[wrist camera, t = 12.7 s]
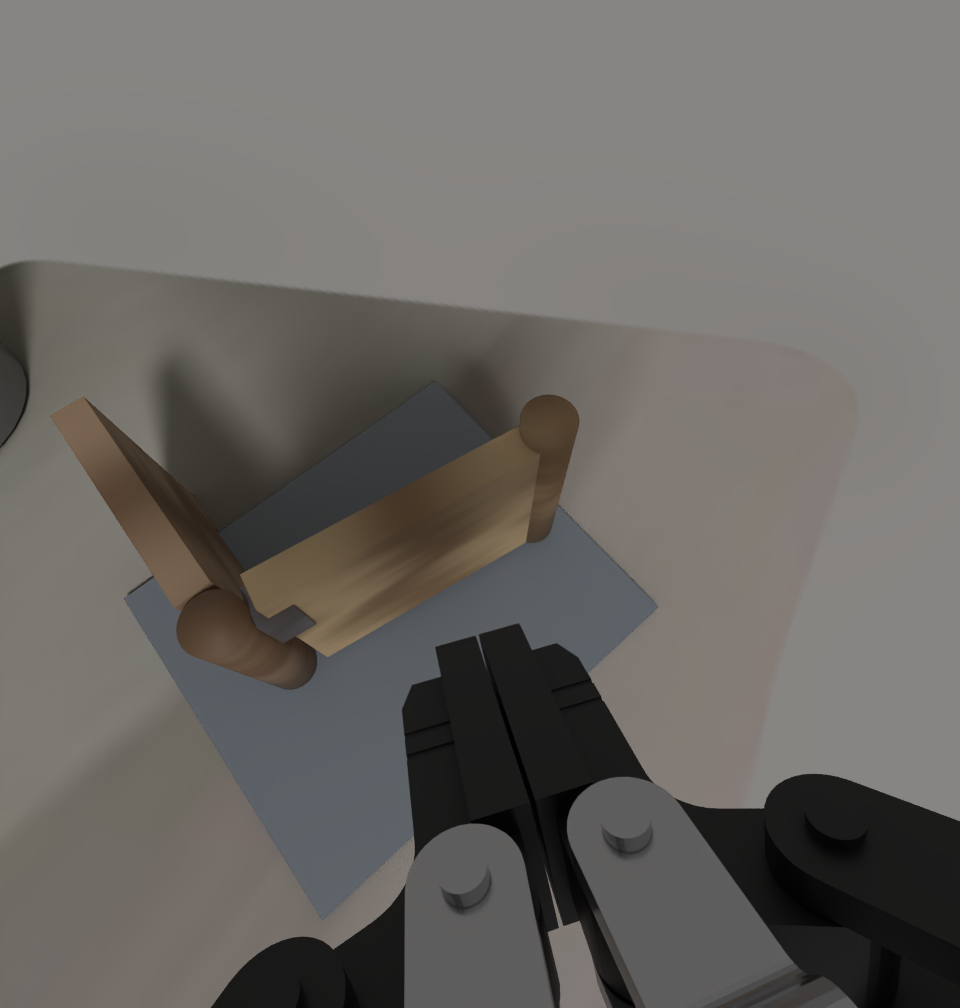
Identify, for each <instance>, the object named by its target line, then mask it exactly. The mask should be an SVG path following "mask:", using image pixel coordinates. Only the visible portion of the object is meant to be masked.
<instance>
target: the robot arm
mask: <svg viewBox="0 0 960 1008" xmlns="http://www.w3.org/2000/svg"><path fill="white" fill-rule="evenodd" d="M25 398H26V378H25V375H24V372H23V368H22V366H21V365H20V363H19V362H18V360H17V359H16V357H15V356H14V355H13V354H12V353H11V352H10V351H9V350H7V349H6V348H5V347H4V346H3V345H2V344H1V343H0V446H1V445H2V443H3V442H4V441H5V440H6V438H7V437H8V436H9V434H10V433H11V432H12V430H13V429H14V427H15V425H16V423H17V421H18V419H19V417H20V415H21V413H22V410H23V406H24V402H25ZM479 639H480V643H481V648H482V652H483V656H484V660H485V663H484V660H483V656H482V653H481V650H480V647H479V644H478V641H477V638H476V636H471V637H468V638H464V639H461V640H457V641H454V642H450V643H447V644H443V645H440V646H436V647H435V649H436V654H437V659H438V664H439V669H440V674H441V677H438V678H434V679H431V680H427V681H424V682H420V683H417V684H413V685H412V686H411V689H410V691H409V693H408V696H407V698H406V700H405V703H404V705H403V708H402V717H403V727H404V735H405V748H406V756H407V768H408V779H409V789H410V799H411V810H412V820H413V830H414V841H415V856H414V862H413V863H412V866H411V868H410V870H409V873H408V877H407V880H406V884H405V886H404V888H403V889H402V891H401V893H400V894H399V896H398V897H397V898H396V900H395V901H394V902H393V903H392V905H391V906H390V907H389V908H388V909H387V910H386V911H385V912H384V913H383V914H382V915H381V916H380V917H378V918H377V919H376V920H375V921H373V922H372V923H371V924H369V925H368V926H366V927H365V928H364V929H362V930H361V931H359V932H358V933H356V934H355V935H354V936H352V937H351V938H349V939H348V940H346V941H345V942H344V943H342V944H341V945H339V946H338V947H336V948H335V949H334V950H333V949H332V948H331V947H330V946H329V945H327V944H326V943H325V942H323V941H321V940H318V939H315V938H311V937H295V938H290V939H286V940H283V941H280V942H278V943H276V944H273V945H271V946H269V947H268V948H266V949H265V950H263V951H261V952H260V953H258V954H257V955H256V956H255V957H253V958H252V959H251V960H250V961H249V962H248V963H246V964H245V965H244V966H243V967H242V968H241V969H240V970H239V971H238V973H237V974H236V975H235V976H234V978H233V979H232V980H231V981H230V982H229V984H228V985H227V987H226V988H225V989H224V991H223V992H222V993H221V995H220V996H219V997H218V999H217V1000H216V1001H215V1003H214V1004H213V1006H212V1007H211V1008H560V1004H559V1003H560V983H559V978H558V973H557V969H556V965H555V961H554V957H553V953H552V949H551V945H550V940H549V936H548V932H549V931H552V930H555V929H557V928H559V927H558V922H557V918H556V913H555V909H554V905H553V900H552V896H551V892H550V887H549V883H548V879H547V875H548V878H549V881H550V885H551V888H552V891H553V894H554V897H555V900H556V904H557V907H558V910H559V913H560V916H561V919H562V923H563V926H565V925H568V924H571V923H574V922H577V921H580V923H581V926H582V929H583V932H584V935H585V938H586V940H587V943H588V946H589V949H590V952H591V955H592V959H593V963H594V968H595V973H596V978H597V983H598V986H599V989H600V992H601V994H602V997H603V999H604V1002H605V1004H606V1006H607V1008H960V821H957V820H955V819H952V818H949V817H947V816H944V815H941V814H939V813H936V812H933V811H930V810H928V809H925V808H922V807H920V806H917V805H914V804H912V803H909V802H906V801H904V800H901V799H898V798H895V797H893V796H890V795H887V794H885V793H882V792H879V791H877V790H874V789H871V788H868V787H866V786H863V785H860V784H857V783H855V782H852V781H850V780H846V779H843V778H839V777H835V776H830V775H823V774H804V775H799V776H794V777H791V778H789V779H787V780H784V781H783V782H781V783H779V784H778V785H777V786H776V787H775V788H774V789H773V790H772V791H771V792H770V794H769V796H768V797H767V799H766V803H765V806H764V807H765V808H764V809H716V808H705V807H699V806H694V805H691V804H688V803H685V802H682V801H680V800H678V799H676V798H674V797H673V796H672V795H670V794H669V793H668V792H667V791H666V790H664V789H663V788H661V787H660V786H658V785H656V784H654V783H653V782H652V781H651V780H650V778H649V777H648V776H647V774H646V773H645V771H644V770H643V768H642V766H641V765H640V763H639V761H638V759H637V758H636V756H635V754H634V752H633V751H632V749H631V747H630V746H629V744H628V742H627V740H626V739H625V737H624V735H623V733H622V732H621V730H620V728H619V727H618V725H617V723H616V721H615V720H614V718H613V716H612V714H611V713H610V711H609V709H608V708H607V706H606V704H605V702H604V701H602V698H601V695H600V694H599V692H598V690H597V689H596V687H595V685H594V683H592V681H591V678H590V676H589V675H588V673H587V671H586V669H585V668H584V666H583V664H582V663H581V661H580V659H579V657H577V656H576V655H574V654H573V653H571V652H570V651H568V650H566V649H565V648H563V647H562V646H560V645H559V644H557V643H555V644H551V645H548V646H544V647H541V648H537V649H534V650H532V649H531V647H530V645H529V643H528V640H527V638H526V636H525V634H524V632H523V630H522V628H521V626H520V624H519V623H517V624H513V625H510V626H506V627H503V628H499V629H496V630H492V631H489V632H485V633H481V634H479ZM485 664H486V666H485ZM486 668H487V669H486ZM544 865H545V866H544ZM545 869H546V870H545ZM546 872H547V874H546Z"/></svg>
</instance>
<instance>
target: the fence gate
mask: <svg viewBox="0 0 960 1008" xmlns="http://www.w3.org/2000/svg"><path fill="white" fill-rule="evenodd" d="M578 427H579V415H578V412H577V410H576V409H575V407H574V406H573V405H572V404H571V403H570V402H569V401H567V400H566V399H564V398H562V397H559V396H556V395H542V396H538V397H536V398H533V399H532V400H530V401H529V402H528V403H527V404H526V405H525V406H524V408H523V409H522V412H521V416H520V425H519V426H517V427H516V428H514V429H512V430H510V431H508V432H506V433H504V434H502V435H501V436H499V437H497V438H495V439H493V440H491V441H489V442H487V443H486V444H484V445H482V446H480V447H478V448H476V449H474V450H472V451H471V452H469V453H467V454H465V455H463V456H461V457H459V458H457V459H456V460H454V461H452V462H450V463H448V464H446V465H444V466H442V467H441V468H439V469H437V470H435V471H433V472H431V473H429V474H427V475H426V476H424V477H422V478H420V479H418V480H416V481H414V482H412V483H411V484H409V485H407V486H405V487H403V488H401V489H399V490H398V491H396V492H394V493H392V494H390V495H388V496H386V497H384V498H383V499H381V500H379V501H377V502H375V503H373V504H371V505H369V506H368V507H366V508H364V509H362V510H360V511H358V512H356V513H354V514H353V515H351V516H349V517H347V518H345V519H343V520H341V521H339V522H338V523H336V524H334V525H332V526H330V527H328V528H326V529H324V530H323V531H321V532H319V533H317V534H315V535H313V536H311V537H309V538H308V539H306V540H304V541H302V542H300V543H298V544H296V545H294V546H293V547H291V548H289V549H287V550H285V551H283V552H281V553H279V554H278V555H276V556H274V557H272V558H270V559H268V560H266V561H264V562H263V563H261V564H259V565H257V566H255V567H253V568H251V569H249V570H248V571H246V572H244V573H242V574H240V576H241V578H242V580H243V582H244V586H242V587H240V588H239V589H240V592H241V594H242V596H243V598H244V600H245V603H246V605H247V607H248V609H249V612H250V614H251V616H252V618H253V621H254V623H255V625H256V627H257V629H259V630H261V631H263V632H264V633H266V634H268V635H269V636H271V637H273V638H275V639H276V640H278V641H280V642H281V643H285V642H287V641H288V640H290V639H292V638H294V637H295V636H296V637H298V638H299V639H301V640H302V641H304V642H305V643H307V644H308V645H310V646H311V647H313V648H314V649H316V650H317V651H319V652H320V653H322V654H324V655H325V656H327V657H329V656H331V655H333V654H334V653H336V652H338V651H339V650H341V649H343V648H345V647H346V646H348V645H350V644H352V643H353V642H355V641H357V640H358V639H360V638H362V637H364V636H365V635H367V634H369V633H370V632H372V631H374V630H376V629H377V628H379V627H381V626H383V625H384V624H386V623H388V622H389V621H391V620H393V619H395V618H396V617H398V616H400V615H401V614H403V613H405V612H407V611H408V610H410V609H412V608H414V607H415V606H417V605H419V604H420V603H422V602H424V601H426V600H427V599H429V598H431V597H432V596H434V595H436V594H438V593H439V592H441V591H443V590H445V589H446V588H448V587H450V586H451V585H453V584H455V583H457V582H458V581H460V580H462V579H463V578H465V577H467V576H469V575H470V574H472V573H474V572H476V571H477V570H479V569H481V568H482V567H484V566H486V565H488V564H489V563H491V562H493V561H495V560H496V559H498V558H500V557H501V556H503V555H505V554H507V553H508V552H510V551H512V550H513V549H515V548H517V547H519V546H520V545H522V544H524V543H526V542H527V543H537V542H540V541H542V540H544V539H545V538H546V537H547V536H548V535H549V533H550V531H551V528H552V525H553V521H554V517H555V513H556V510H557V506H558V502H559V498H560V495H561V491H562V487H563V483H564V480H565V476H566V472H567V468H568V464H569V461H570V457H571V453H572V449H573V446H574V442H575V438H576V434H577V431H578Z"/></svg>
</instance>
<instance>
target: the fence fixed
mask: <svg viewBox="0 0 960 1008" xmlns="http://www.w3.org/2000/svg"><path fill="white" fill-rule="evenodd" d="M50 417H51V418H52V420H53V421H54V423H55V425H56V426H57V428H58V429H59V431H60V432H61V434H62V435H63V437H64V438H65V440H66V442H67V443H68V445H69V446H70V448H71V449H72V451H73V452H74V454H75V455H76V457H77V458H78V460H79V462H80V463H81V465H82V466H83V468H84V469H85V471H86V472H87V474H88V475H89V477H90V479H91V480H92V482H93V483H94V485H95V486H96V488H97V489H98V491H99V492H100V494H101V496H102V497H103V499H104V500H105V502H106V503H107V505H108V506H109V508H110V509H111V511H112V513H113V514H114V516H115V517H116V519H117V520H118V522H119V523H120V525H121V526H122V528H123V529H124V531H125V533H126V534H127V536H128V537H129V539H130V540H131V542H132V543H133V545H134V546H135V548H136V550H137V551H138V553H139V554H140V556H141V557H142V559H143V560H144V562H145V563H146V565H147V567H148V568H149V570H150V571H151V573H152V574H153V576H154V577H155V579H156V580H157V582H158V584H159V585H160V587H161V588H162V590H163V591H164V593H165V594H166V596H167V597H168V599H169V600H170V602H171V604H172V605H173V607H174V608H175V609H178V610H180V611H181V613H180V615H179V618H178V621H177V626H176V634H177V639H178V642H179V644H180V646H181V647H182V649H183V650H184V651H185V652H186V653H188V654H189V655H191V656H193V657H196V658H199V659H201V660H204V661H207V662H210V663H213V664H215V665H218V666H221V667H224V668H226V669H229V670H232V671H235V672H238V673H240V674H243V675H246V676H249V677H251V678H254V679H257V680H260V681H262V682H265V683H268V684H271V685H274V686H276V687H279V688H282V689H286V690H293V689H297V688H300V687H302V686H304V685H305V684H306V683H308V682H309V681H310V679H311V678H312V677H313V675H314V673H315V671H316V668H317V655H316V652H315V650H314V648H313V647H311V646H310V645H308V644H307V643H305V642H304V641H302V640H301V639H299V638H298V637H296V636H295V637H294V638H292V639H290V640H288V641H287V642H285V643H281V642H280V641H278V640H276V639H275V638H273V637H271V636H269V635H268V634H266V633H264V632H263V631H261V630H259V629H257V627H256V625H255V623H254V621H253V618H252V616H251V614H250V612H249V609H248V607H247V605H246V603H245V600H244V598H243V596H242V594H241V592H240V589H239V588H240V587H242V586H244V582H243V580H242V578H241V576H240V574H242V573H244V572H246V571H245V570H244V569H243V567H242V566H241V564H240V563H239V562H238V560H237V559H236V557H235V556H234V555H233V553H232V552H231V550H230V549H229V548H228V546H227V545H226V543H225V542H224V541H223V539H222V538H221V536H220V535H219V534H218V531H217V529H216V528H215V527H214V525H213V524H212V522H211V521H210V520H209V518H208V517H207V515H206V514H205V513H204V511H203V510H202V508H201V507H200V506H199V504H198V503H197V501H196V500H195V499H194V497H193V496H192V494H191V493H190V492H189V491H187V490H186V489H185V488H184V487H183V486H182V485H181V484H180V483H179V482H177V481H176V480H175V479H174V478H173V477H172V476H171V475H170V474H169V473H167V472H166V471H165V470H164V469H163V468H162V467H161V466H160V465H159V464H158V463H156V462H155V461H154V460H153V459H152V458H151V457H150V456H149V455H148V454H146V453H145V452H144V451H143V450H142V449H141V448H140V447H139V446H138V445H137V444H135V443H134V442H133V441H132V440H131V439H130V438H129V437H128V436H127V435H125V434H124V433H123V432H122V431H121V430H120V429H119V428H118V427H117V426H115V425H114V424H113V423H112V422H111V421H110V420H109V419H108V418H107V417H106V416H104V415H103V414H102V413H101V412H100V411H99V410H98V409H97V408H96V407H94V406H93V405H92V404H91V403H90V402H89V401H88V400H87V399H86V398H85V397H81V398H79V399H78V400H76V401H74V402H73V403H71V404H69V405H68V406H66V407H64V408H62V409H61V410H59V411H57V412H56V413H54V414H52V415H51V416H50Z"/></svg>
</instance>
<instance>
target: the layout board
mask: <svg viewBox="0 0 960 1008" xmlns="http://www.w3.org/2000/svg"><path fill="white" fill-rule="evenodd" d="M491 440H493V439H492V438H491V437H490V436H489V435H488V434H487V433H486V432H485V431H484V430H483V429H482V428H481V427H480V426H479V425H478V424H477V423H476V422H475V421H474V420H473V419H472V418H471V417H470V416H469V415H468V413H467V412H466V411H465V410H464V409H463V408H462V407H461V406H460V405H459V404H458V403H457V402H456V401H455V400H454V399H453V398H452V397H451V396H450V395H449V394H448V393H447V392H446V391H445V390H444V389H443V388H442V387H441V386H440V385H439V384H438V383H437V382H436V381H434V382H433V383H431V384H430V385H429V386H427V387H426V388H424V389H423V390H421V391H420V392H419V393H417V394H416V395H414V396H413V397H411V398H410V399H409V400H407V401H406V402H404V403H403V404H401V405H400V406H399V407H397V408H396V409H394V410H393V411H391V412H390V413H389V414H387V415H386V416H384V417H383V418H381V419H380V420H379V421H377V422H376V423H374V424H373V425H371V426H370V427H368V428H367V429H366V430H364V431H363V432H361V433H360V434H358V435H357V436H356V437H354V438H353V439H351V440H350V441H348V442H347V443H346V444H344V445H343V446H341V447H340V448H338V449H337V450H336V451H334V452H333V453H331V454H330V455H328V456H327V457H326V458H324V459H323V460H321V461H320V462H318V463H317V464H316V465H314V466H313V467H311V468H310V469H308V470H307V471H306V472H304V473H303V474H301V475H300V476H298V477H297V478H295V479H294V480H293V481H291V482H290V483H288V484H287V485H285V486H284V487H283V488H281V489H280V490H278V491H277V492H275V493H274V494H273V495H271V496H270V497H268V498H267V499H265V500H264V501H263V502H261V503H260V504H258V505H257V506H255V507H254V508H253V509H251V510H250V511H248V512H247V513H245V514H244V515H243V516H241V517H240V518H238V519H237V520H235V521H234V522H233V523H231V524H230V525H228V526H227V527H225V528H224V529H223V530H221V531H220V532H218V534H219V535H220V536H221V538H222V539H223V541H224V542H225V543H226V545H227V546H228V548H229V549H230V550H231V552H232V553H233V555H234V556H235V557H236V559H237V560H238V562H239V563H240V564H241V566H242V567H243V569H244V570H245V571H248V570H249V569H251V568H253V567H255V566H257V565H259V564H261V563H263V562H264V561H266V560H268V559H270V558H272V557H274V556H276V555H278V554H279V553H281V552H283V551H285V550H287V549H289V548H291V547H293V546H294V545H296V544H298V543H300V542H302V541H304V540H306V539H308V538H309V537H311V536H313V535H315V534H317V533H319V532H321V531H323V530H324V529H326V528H328V527H330V526H332V525H334V524H336V523H338V522H339V521H341V520H343V519H345V518H347V517H349V516H351V515H353V514H354V513H356V512H358V511H360V510H362V509H364V508H366V507H368V506H369V505H371V504H373V503H375V502H377V501H379V500H381V499H383V498H384V497H386V496H388V495H390V494H392V493H394V492H396V491H398V490H399V489H401V488H403V487H405V486H407V485H409V484H411V483H412V482H414V481H416V480H418V479H420V478H422V477H424V476H426V475H427V474H429V473H431V472H433V471H435V470H437V469H439V468H441V467H442V466H444V465H446V464H448V463H450V462H452V461H454V460H456V459H457V458H459V457H461V456H463V455H465V454H467V453H469V452H471V451H472V450H474V449H476V448H478V447H480V446H482V445H484V444H486V443H487V442H489V441H491ZM124 600H125V601H126V603H127V605H128V606H129V608H130V609H131V611H132V613H133V614H134V616H135V618H136V619H137V621H138V622H139V624H140V626H141V627H142V629H143V630H144V632H145V634H146V635H147V637H148V639H149V640H150V642H151V643H152V645H153V647H154V648H155V650H156V652H157V653H158V655H159V656H160V658H161V660H162V661H163V663H164V665H165V666H166V668H167V669H168V671H169V673H170V674H171V676H172V678H173V679H174V681H175V682H176V684H177V686H178V687H179V689H180V691H181V692H182V694H183V695H184V697H185V699H186V700H187V702H188V703H189V705H190V707H191V708H192V710H193V712H194V713H195V715H196V716H197V718H198V720H199V721H200V723H201V725H202V726H203V728H204V729H205V731H206V733H207V734H208V736H209V738H210V739H211V741H212V742H213V744H214V746H215V747H216V749H217V751H218V752H219V754H220V755H221V757H222V759H223V760H224V762H225V764H226V765H227V767H228V768H229V770H230V772H231V773H232V775H233V776H234V778H235V780H236V781H237V783H238V785H239V786H240V788H241V789H242V791H243V793H244V794H245V796H246V798H247V799H248V801H249V802H250V804H251V806H252V807H253V809H254V811H255V812H256V814H257V815H258V817H259V819H260V820H261V822H262V824H263V825H264V827H265V828H266V830H267V832H268V833H269V835H270V837H271V838H272V840H273V841H274V843H275V845H276V846H277V848H278V849H279V851H280V853H281V854H282V856H283V858H284V859H285V861H286V862H287V864H288V866H289V867H290V869H291V871H292V872H293V874H294V875H295V877H296V879H297V880H298V882H299V884H300V885H301V887H302V888H303V890H304V892H305V893H306V895H307V897H308V898H309V900H310V901H311V903H312V905H313V906H314V908H315V910H316V911H317V913H318V914H319V916H320V918H321V919H322V920H323V919H324V918H325V917H326V916H327V915H328V914H329V913H331V912H332V911H333V910H334V909H335V908H336V907H337V906H338V905H339V904H340V903H341V902H342V901H343V900H344V899H346V898H347V897H348V896H349V895H350V894H351V893H352V892H353V891H354V890H355V889H356V888H357V887H358V886H360V885H361V884H362V883H363V882H364V881H365V880H366V879H367V878H368V877H369V876H370V875H371V874H372V873H373V872H375V871H376V870H377V869H378V868H379V867H380V866H381V865H382V864H383V863H384V862H385V861H386V860H387V859H388V858H390V857H391V856H392V855H393V854H394V853H395V852H396V851H397V850H398V849H399V848H400V847H401V846H402V845H404V844H405V843H406V842H407V841H408V840H409V839H410V838H411V837H412V836H413V835H414V830H413V820H412V810H411V799H410V789H409V779H408V768H407V756H406V748H405V735H404V727H403V717H402V708H403V705H404V703H405V700H406V698H407V696H408V693H409V691H410V689H411V686H412V685H413V684H417V683H420V682H424V681H427V680H431V679H434V678H438V677H441V674H440V669H439V664H438V659H437V654H436V649H435V647H436V646H440V645H443V644H447V643H450V642H454V641H457V640H461V639H464V638H468V637H471V636H476V638H477V641H478V644H479V647H480V650H481V653H482V656H483V652H482V648H481V643H480V639H479V634H481V633H485V632H489V631H492V630H496V629H499V628H503V627H506V626H510V625H513V624H517V623H519V624H520V626H521V628H522V630H523V632H524V634H525V636H526V638H527V640H528V643H529V645H530V647H531V649H532V650H534V649H537V648H541V647H544V646H548V645H551V644H555V643H557V644H559V645H560V646H562V647H563V648H565V649H566V650H568V651H570V652H571V653H573V654H574V655H576V656H577V657H579V659H580V661H581V663H582V664H583V666H584V668H585V669H586V671H587V673H588V672H589V671H590V670H591V669H592V668H593V667H595V666H596V665H597V664H598V663H599V662H600V661H601V660H602V659H603V658H604V657H605V656H606V655H607V654H609V653H610V652H611V651H612V650H613V649H614V648H615V647H616V646H617V645H618V644H619V643H620V642H621V641H622V640H624V639H625V638H626V637H627V636H628V635H629V634H630V633H631V632H632V631H633V630H634V629H635V628H636V627H637V626H639V625H640V624H641V623H642V622H643V621H644V620H645V619H646V618H647V617H648V616H649V615H650V614H651V613H653V612H654V611H655V610H656V609H657V608H658V606H657V605H656V604H655V603H654V602H653V601H652V599H651V598H650V597H649V596H648V595H647V594H646V593H645V592H644V591H643V590H642V589H641V588H640V587H639V586H638V585H637V584H636V583H635V582H634V581H633V580H632V579H631V578H630V577H629V576H628V575H627V574H626V573H625V572H624V571H623V570H622V569H621V568H620V567H619V566H618V565H617V564H616V563H615V562H614V561H613V560H612V559H611V558H610V557H609V556H608V555H607V554H606V553H605V552H604V551H603V550H602V549H601V548H600V547H599V546H598V545H597V544H596V543H595V542H594V541H593V540H592V539H591V538H590V537H589V536H588V535H587V534H586V533H585V532H584V531H583V530H582V529H581V528H580V527H579V526H578V525H577V524H576V523H575V522H574V521H573V520H572V519H571V518H570V517H569V516H568V515H567V514H566V513H565V512H564V511H563V510H562V509H561V508H560V506H559V505H558V506H557V510H556V513H555V517H554V521H553V525H552V528H551V531H550V533H549V535H548V536H547V537H546V538H545V539H544V540H542V541H540V542H537V543H527V542H526V543H524V544H522V545H520V546H519V547H517V548H515V549H513V550H512V551H510V552H508V553H507V554H505V555H503V556H501V557H500V558H498V559H496V560H495V561H493V562H491V563H489V564H488V565H486V566H484V567H482V568H481V569H479V570H477V571H476V572H474V573H472V574H470V575H469V576H467V577H465V578H463V579H462V580H460V581H458V582H457V583H455V584H453V585H451V586H450V587H448V588H446V589H445V590H443V591H441V592H439V593H438V594H436V595H434V596H432V597H431V598H429V599H427V600H426V601H424V602H422V603H420V604H419V605H417V606H415V607H414V608H412V609H410V610H408V611H407V612H405V613H403V614H401V615H400V616H398V617H396V618H395V619H393V620H391V621H389V622H388V623H386V624H384V625H383V626H381V627H379V628H377V629H376V630H374V631H372V632H370V633H369V634H367V635H365V636H364V637H362V638H360V639H358V640H357V641H355V642H353V643H352V644H350V645H348V646H346V647H345V648H343V649H341V650H339V651H338V652H336V653H334V654H333V655H331V656H329V657H327V656H325V655H324V654H322V653H320V652H319V651H317V650H316V649H314V650H315V652H316V655H317V668H316V671H315V673H314V675H313V677H312V678H311V679H310V681H309V682H308V683H306V684H305V685H304V686H302V687H300V688H297V689H293V690H286V689H282V688H279V687H276V686H274V685H271V684H268V683H265V682H262V681H260V680H257V679H254V678H251V677H249V676H246V675H243V674H240V673H238V672H235V671H232V670H229V669H226V668H224V667H221V666H218V665H215V664H213V663H210V662H207V661H204V660H201V659H199V658H196V657H193V656H191V655H189V654H188V653H186V652H185V651H184V650H183V649H182V647H181V646H180V644H179V642H178V639H177V634H176V626H177V621H178V618H179V615H180V613H181V611H180V610H178V609H175V608H174V607H173V605H172V604H171V602H170V600H169V599H168V597H167V596H166V594H165V593H164V591H163V590H162V588H161V587H160V585H159V584H158V582H157V580H156V579H155V577H154V578H152V579H151V580H150V581H148V582H147V583H145V584H144V585H142V586H141V587H140V588H138V589H137V590H135V591H134V592H132V593H131V594H129V595H128V596H127V597H125V598H124ZM483 660H484V656H483ZM484 663H485V660H484ZM485 666H486V664H485ZM486 669H487V668H486Z"/></svg>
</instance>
